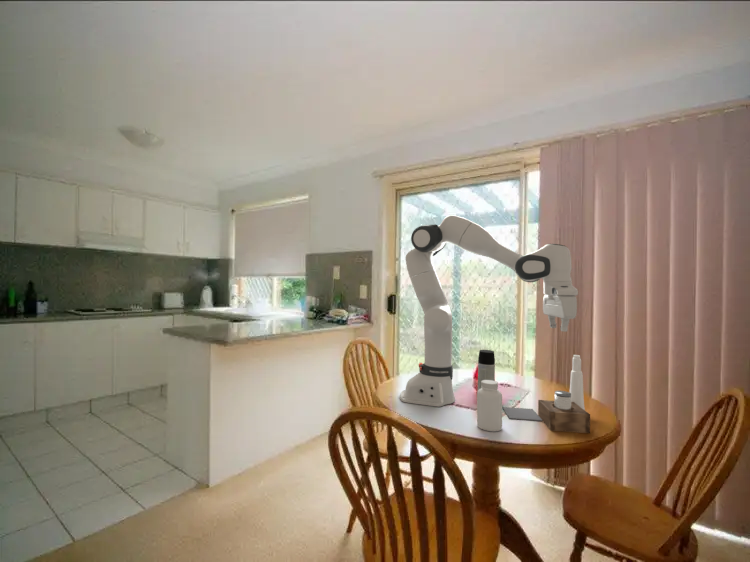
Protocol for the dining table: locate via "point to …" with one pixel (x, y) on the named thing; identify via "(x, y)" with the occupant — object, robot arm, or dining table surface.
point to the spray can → (486, 366)
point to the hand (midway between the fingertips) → (558, 329)
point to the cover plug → (563, 400)
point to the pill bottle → (489, 406)
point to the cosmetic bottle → (577, 382)
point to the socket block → (564, 417)
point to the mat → (521, 414)
